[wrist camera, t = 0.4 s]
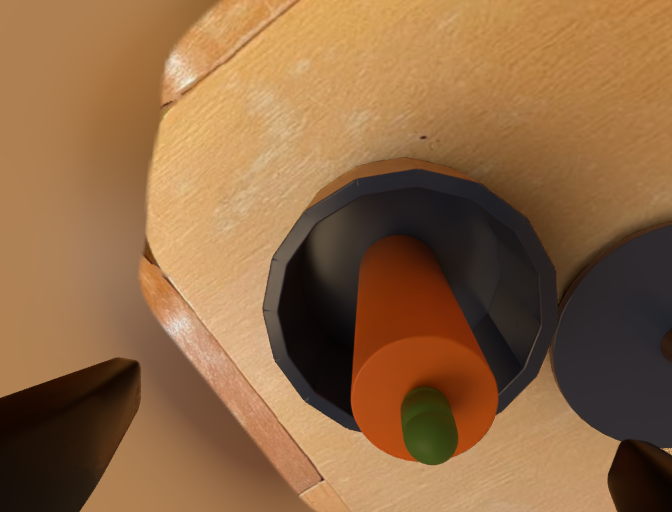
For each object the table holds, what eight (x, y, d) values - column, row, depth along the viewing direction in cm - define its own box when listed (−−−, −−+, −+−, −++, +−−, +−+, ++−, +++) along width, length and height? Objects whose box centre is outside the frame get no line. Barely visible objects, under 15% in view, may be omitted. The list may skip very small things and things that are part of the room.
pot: (470, 385, 22) (501, 466, 17) (273, 339, 23) (243, 405, 17) (541, 187, 20) (605, 211, 14) (314, 135, 20) (293, 139, 14)
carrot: (426, 316, 21) (491, 539, 10) (351, 299, 21) (330, 501, 10) (448, 244, 20) (549, 401, 9) (369, 226, 20) (370, 359, 9)
